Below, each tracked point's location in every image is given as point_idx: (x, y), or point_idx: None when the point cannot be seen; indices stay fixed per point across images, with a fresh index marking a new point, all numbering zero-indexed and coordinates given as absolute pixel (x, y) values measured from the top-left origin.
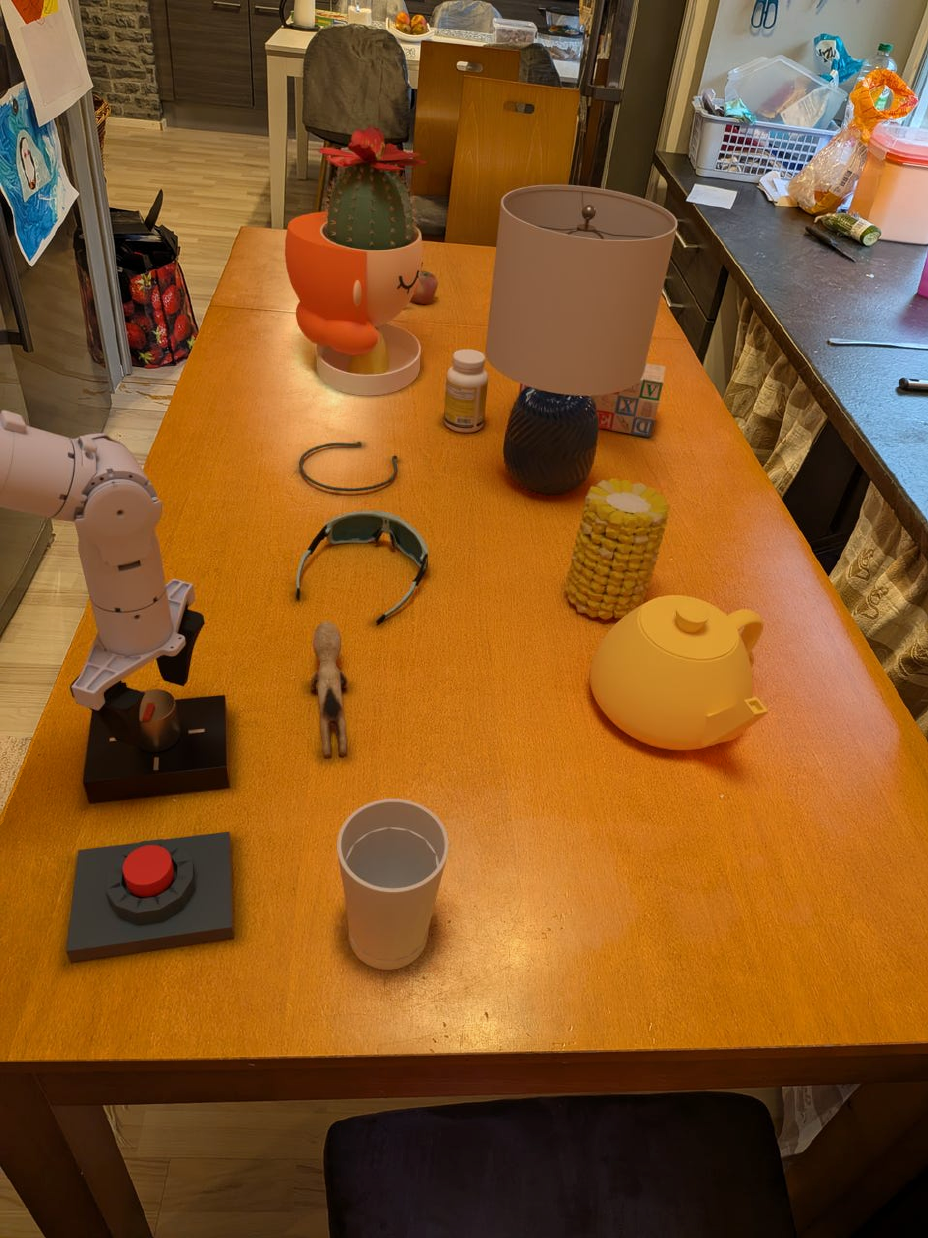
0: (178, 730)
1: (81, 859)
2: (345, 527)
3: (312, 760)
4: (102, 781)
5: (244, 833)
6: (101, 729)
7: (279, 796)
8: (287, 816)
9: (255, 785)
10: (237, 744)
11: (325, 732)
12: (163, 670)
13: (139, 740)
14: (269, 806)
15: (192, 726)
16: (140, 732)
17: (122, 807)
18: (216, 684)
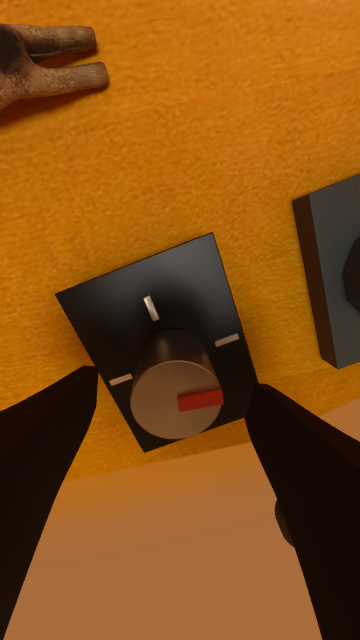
0: (170, 334)
1: (351, 361)
2: None
3: (120, 111)
4: None
5: (274, 187)
6: None
7: (204, 151)
8: (239, 125)
9: (190, 198)
10: (123, 253)
11: (61, 72)
12: (85, 425)
13: (259, 384)
14: (224, 163)
15: (142, 318)
16: (270, 393)
17: (249, 351)
18: (22, 324)
